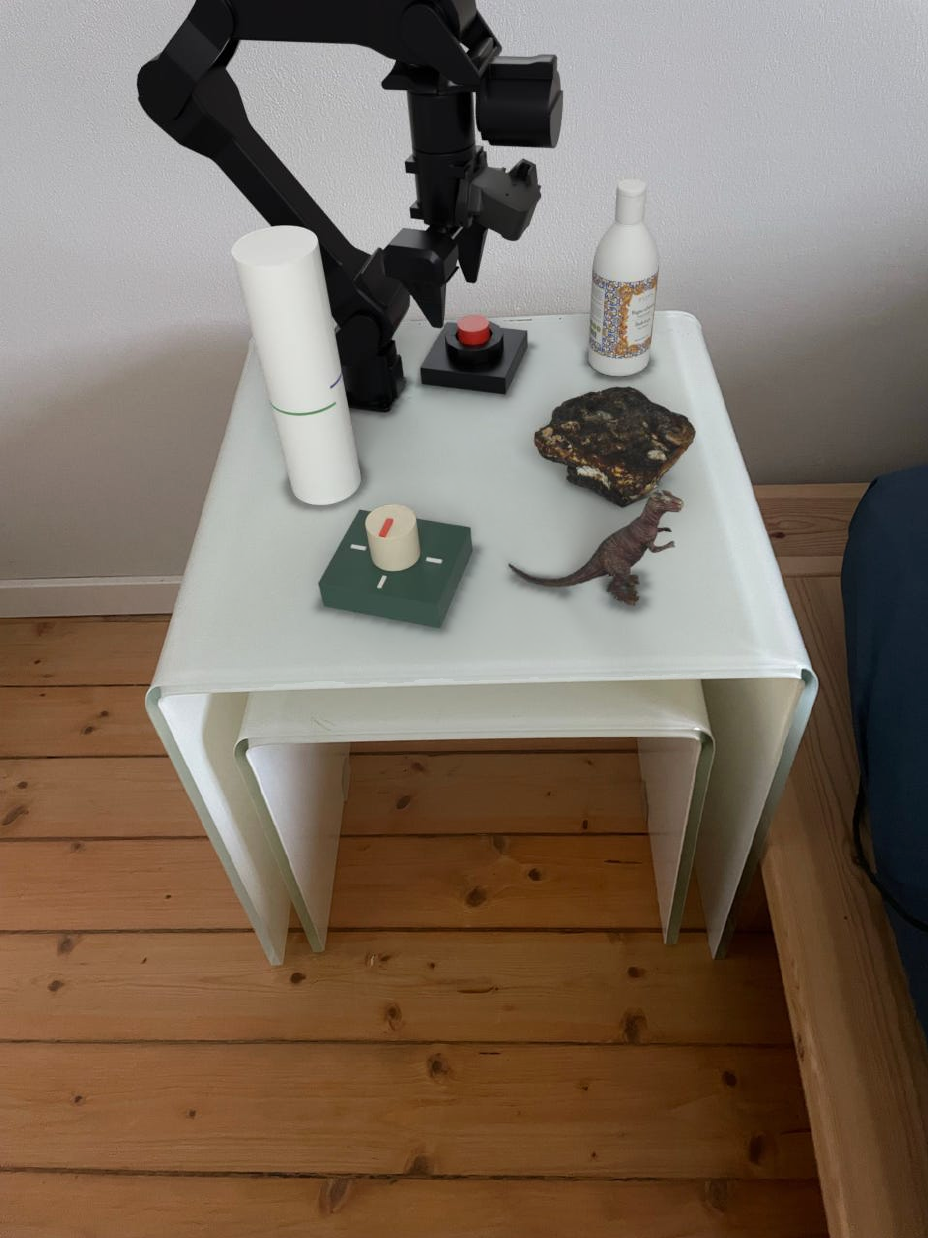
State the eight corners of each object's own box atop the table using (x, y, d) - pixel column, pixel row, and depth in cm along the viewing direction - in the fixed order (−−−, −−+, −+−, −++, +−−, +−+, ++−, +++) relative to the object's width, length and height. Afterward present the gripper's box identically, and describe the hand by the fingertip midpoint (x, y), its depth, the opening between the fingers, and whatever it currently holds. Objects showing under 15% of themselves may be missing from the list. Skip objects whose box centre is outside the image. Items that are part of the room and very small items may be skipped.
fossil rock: (594, 409, 99) (597, 362, 95) (706, 457, 93) (714, 409, 88) (515, 476, 92) (513, 429, 88) (629, 532, 86) (634, 485, 82)
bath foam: (614, 385, 102) (627, 206, 87) (575, 359, 106) (582, 182, 91) (661, 364, 104) (682, 185, 89) (622, 338, 108) (635, 163, 93)
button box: (421, 384, 104) (418, 353, 101) (447, 337, 111) (445, 307, 108) (505, 394, 102) (504, 363, 99) (527, 346, 108) (527, 316, 105)
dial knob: (381, 533, 83) (375, 497, 80) (426, 541, 82) (422, 505, 79) (364, 567, 81) (357, 531, 77) (411, 575, 80) (406, 538, 76)
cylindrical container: (373, 469, 95) (333, 232, 76) (338, 511, 90) (288, 272, 72) (314, 454, 97) (262, 220, 78) (278, 495, 93) (214, 258, 74)
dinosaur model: (685, 502, 70) (494, 499, 73) (676, 610, 79) (505, 604, 82) (685, 471, 73) (501, 469, 76) (677, 579, 81) (511, 574, 84)
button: (454, 343, 103) (453, 329, 102) (463, 327, 105) (462, 313, 104) (484, 347, 102) (484, 333, 101) (493, 330, 104) (493, 316, 103)
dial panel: (323, 606, 82) (317, 581, 79) (363, 532, 88) (358, 507, 86) (439, 628, 79) (436, 603, 77) (472, 550, 86) (470, 525, 83)
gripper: (492, 195, 73) (498, 365, 85) (562, 109, 84) (558, 270, 96) (367, 181, 76) (389, 347, 88) (450, 100, 87) (460, 257, 99)
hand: (455, 303), depth 92 cm, fingers open, 9 cm apart
